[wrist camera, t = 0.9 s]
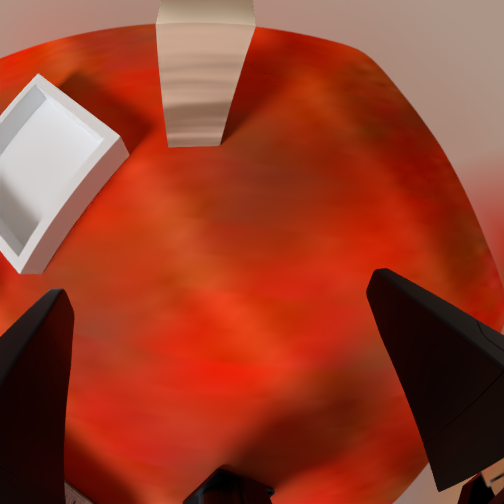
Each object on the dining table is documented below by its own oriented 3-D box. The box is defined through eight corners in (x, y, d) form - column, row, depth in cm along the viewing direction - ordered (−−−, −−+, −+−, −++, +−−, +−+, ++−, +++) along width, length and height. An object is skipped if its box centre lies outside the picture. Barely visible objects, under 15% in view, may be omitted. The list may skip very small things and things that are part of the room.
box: (42, 273, 18) (19, 274, 15) (-24, 192, 17) (-45, 183, 13) (129, 155, 20) (120, 136, 17) (51, 93, 19) (38, 73, 15)
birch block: (219, 145, 22) (255, 25, 9) (168, 147, 21) (155, 24, 8) (218, 104, 22) (249, -19, 9) (170, 105, 21) (166, -22, 8)
